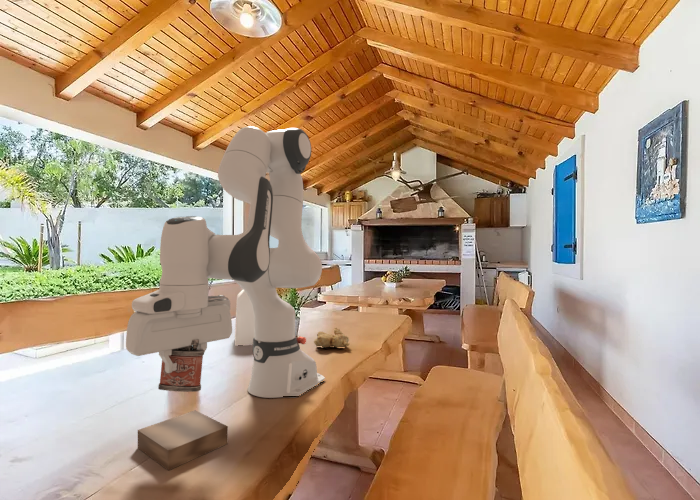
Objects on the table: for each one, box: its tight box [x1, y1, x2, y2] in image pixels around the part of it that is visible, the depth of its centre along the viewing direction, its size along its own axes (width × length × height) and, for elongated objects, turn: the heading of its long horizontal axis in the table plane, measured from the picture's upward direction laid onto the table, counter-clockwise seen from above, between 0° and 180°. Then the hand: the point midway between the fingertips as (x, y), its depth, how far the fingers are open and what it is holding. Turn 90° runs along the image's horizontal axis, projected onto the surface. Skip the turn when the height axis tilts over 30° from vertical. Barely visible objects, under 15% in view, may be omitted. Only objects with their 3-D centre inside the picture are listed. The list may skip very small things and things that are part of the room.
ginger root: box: [313, 327, 350, 348], centre depth 154 cm, size 16×16×8 cm
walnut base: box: [137, 410, 229, 471], centre depth 77 cm, size 12×12×4 cm
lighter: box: [157, 339, 205, 393], centre depth 76 cm, size 8×3×10 cm, turn 89°
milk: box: [234, 288, 255, 347], centre depth 161 cm, size 12×12×26 cm
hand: (183, 368), depth 77 cm, fingers closed on lighter, 4 cm apart
